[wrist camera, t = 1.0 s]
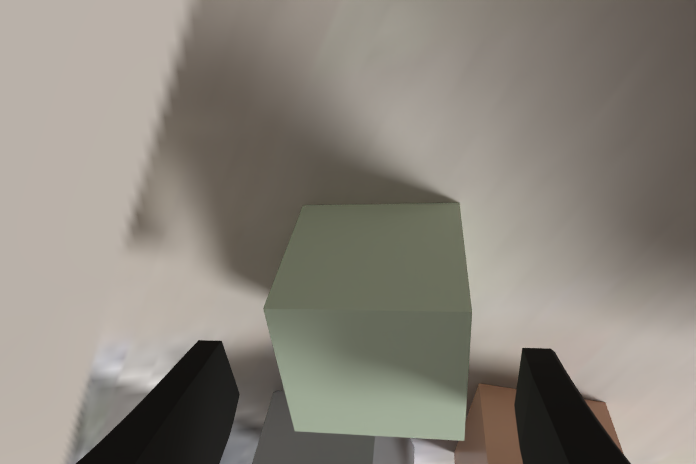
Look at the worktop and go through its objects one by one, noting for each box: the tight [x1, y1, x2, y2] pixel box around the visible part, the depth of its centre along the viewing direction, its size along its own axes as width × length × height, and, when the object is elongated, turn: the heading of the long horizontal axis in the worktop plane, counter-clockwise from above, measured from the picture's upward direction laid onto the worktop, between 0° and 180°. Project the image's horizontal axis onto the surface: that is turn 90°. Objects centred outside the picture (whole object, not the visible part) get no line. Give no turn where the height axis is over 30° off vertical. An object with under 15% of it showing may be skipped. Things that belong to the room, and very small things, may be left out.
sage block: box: [263, 203, 472, 441], centre depth 14 cm, size 4×4×4 cm
